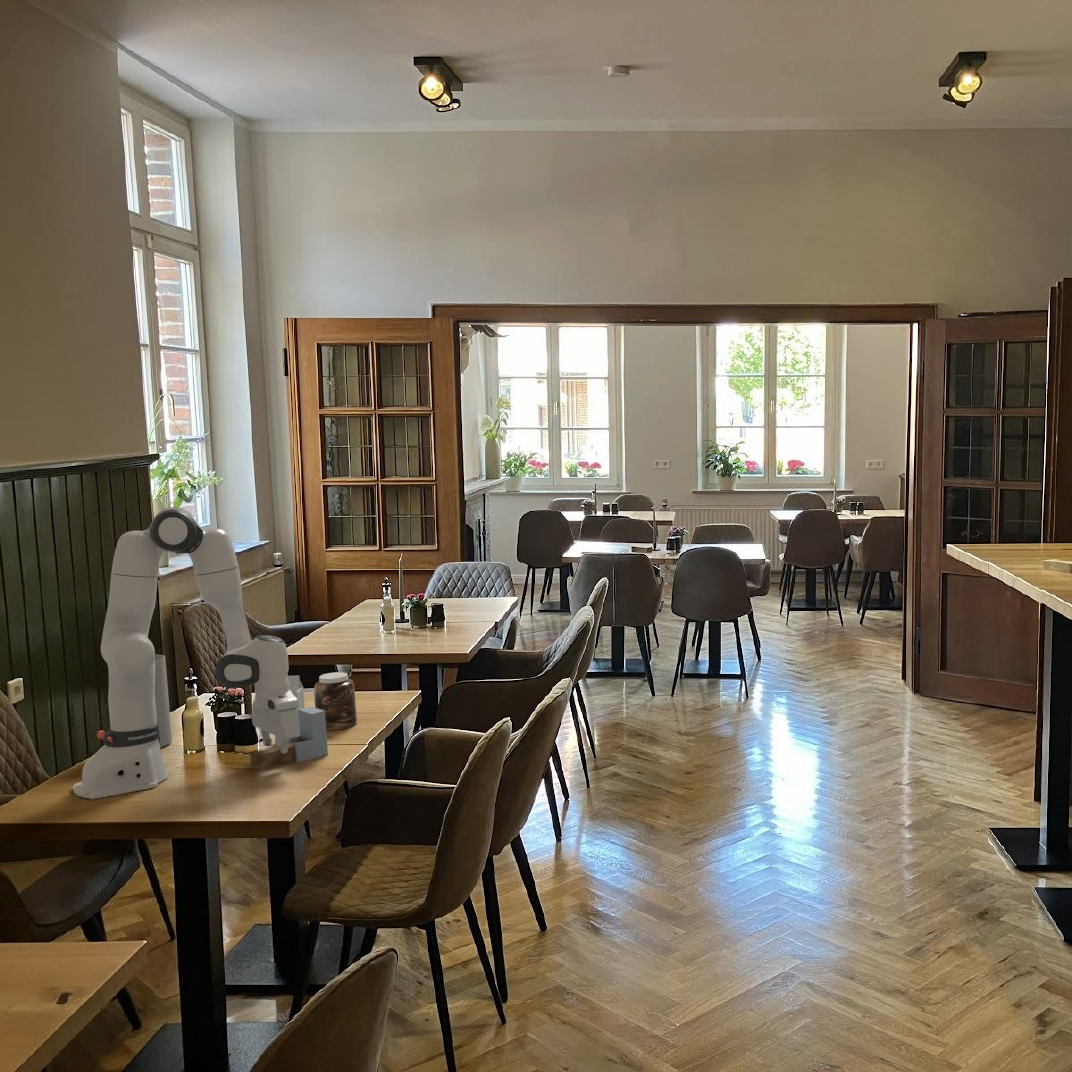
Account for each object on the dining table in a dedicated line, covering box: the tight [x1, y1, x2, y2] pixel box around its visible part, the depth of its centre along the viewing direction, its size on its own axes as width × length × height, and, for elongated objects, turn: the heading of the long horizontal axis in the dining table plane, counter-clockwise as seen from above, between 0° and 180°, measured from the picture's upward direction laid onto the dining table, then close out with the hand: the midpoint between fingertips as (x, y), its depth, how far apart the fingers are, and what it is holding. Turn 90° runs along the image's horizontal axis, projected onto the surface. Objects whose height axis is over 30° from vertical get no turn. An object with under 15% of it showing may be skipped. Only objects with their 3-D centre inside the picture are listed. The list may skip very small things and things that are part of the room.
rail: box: [249, 737, 307, 772], centre depth 282 cm, size 15×4×5 cm, turn 131°
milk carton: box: [274, 675, 306, 747], centre depth 299 cm, size 7×7×19 cm
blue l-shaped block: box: [289, 706, 329, 763], centre depth 286 cm, size 9×7×12 cm
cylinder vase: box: [154, 654, 173, 749], centre depth 303 cm, size 12×12×25 cm
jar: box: [313, 671, 358, 731], centre depth 316 cm, size 12×12×15 cm
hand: (275, 749), depth 280 cm, fingers open, 8 cm apart
